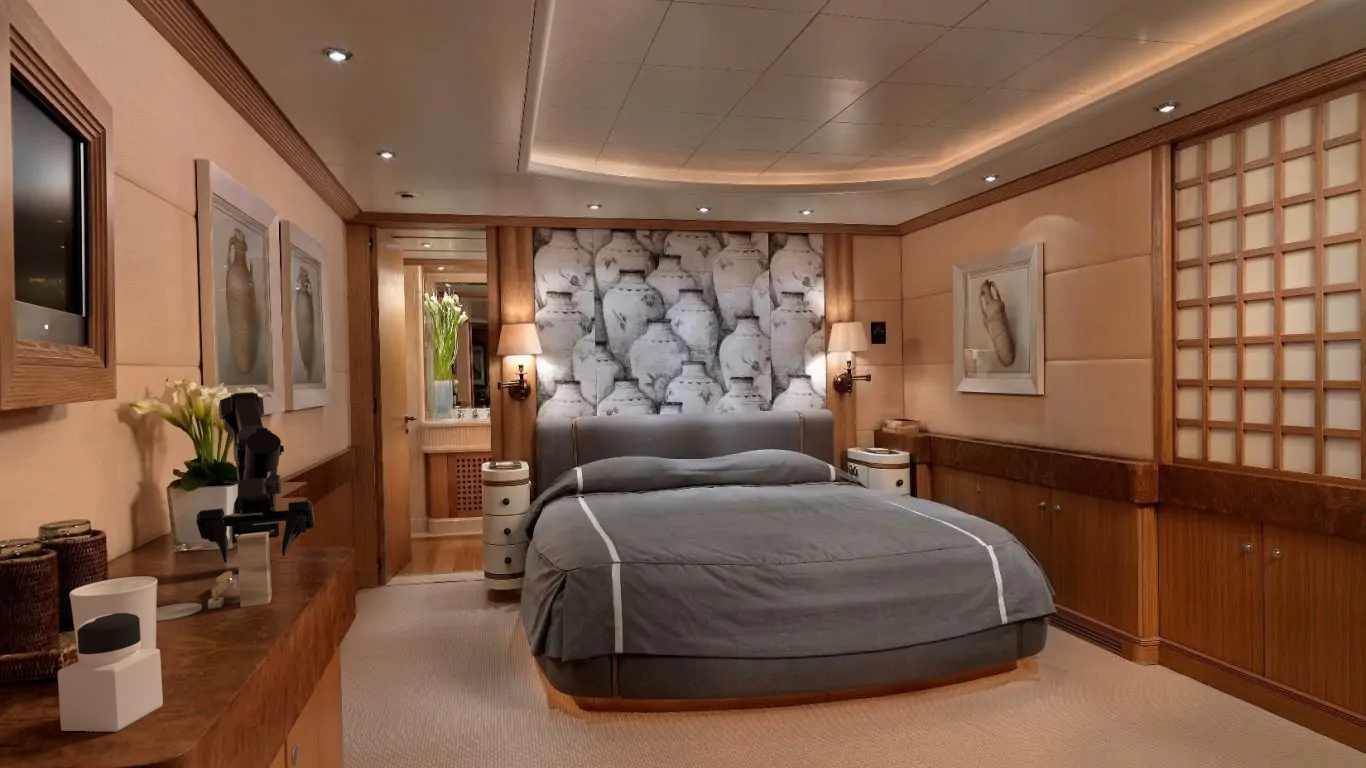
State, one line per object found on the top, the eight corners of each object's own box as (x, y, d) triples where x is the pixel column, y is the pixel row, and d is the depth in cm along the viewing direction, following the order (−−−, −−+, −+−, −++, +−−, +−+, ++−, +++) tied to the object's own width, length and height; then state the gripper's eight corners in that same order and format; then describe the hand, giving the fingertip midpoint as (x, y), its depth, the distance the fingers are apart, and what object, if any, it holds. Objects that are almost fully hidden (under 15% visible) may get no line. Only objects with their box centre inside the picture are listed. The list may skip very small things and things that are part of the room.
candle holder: (178, 662, 112) (174, 577, 112) (108, 690, 103) (103, 597, 102) (128, 657, 115) (124, 574, 115) (56, 683, 106) (51, 593, 106)
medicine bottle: (164, 706, 97) (159, 608, 97) (117, 732, 90) (111, 627, 89) (110, 705, 97) (105, 608, 97) (59, 732, 90) (53, 627, 90)
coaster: (148, 609, 139) (147, 607, 139) (206, 602, 143) (206, 600, 143) (133, 624, 131) (133, 622, 131) (196, 616, 134) (196, 613, 134)
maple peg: (244, 600, 143) (241, 534, 143) (271, 597, 144) (268, 531, 144) (240, 607, 139) (237, 538, 138) (268, 603, 140) (265, 536, 140)
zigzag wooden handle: (222, 586, 154) (221, 571, 154) (238, 584, 155) (237, 569, 155) (205, 609, 139) (204, 591, 138) (223, 606, 140) (222, 589, 139)
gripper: (195, 465, 143) (185, 537, 133) (309, 457, 150) (308, 525, 139) (206, 503, 150) (197, 574, 140) (314, 493, 157) (313, 560, 147)
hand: (254, 557), depth 141 cm, fingers open, 9 cm apart
